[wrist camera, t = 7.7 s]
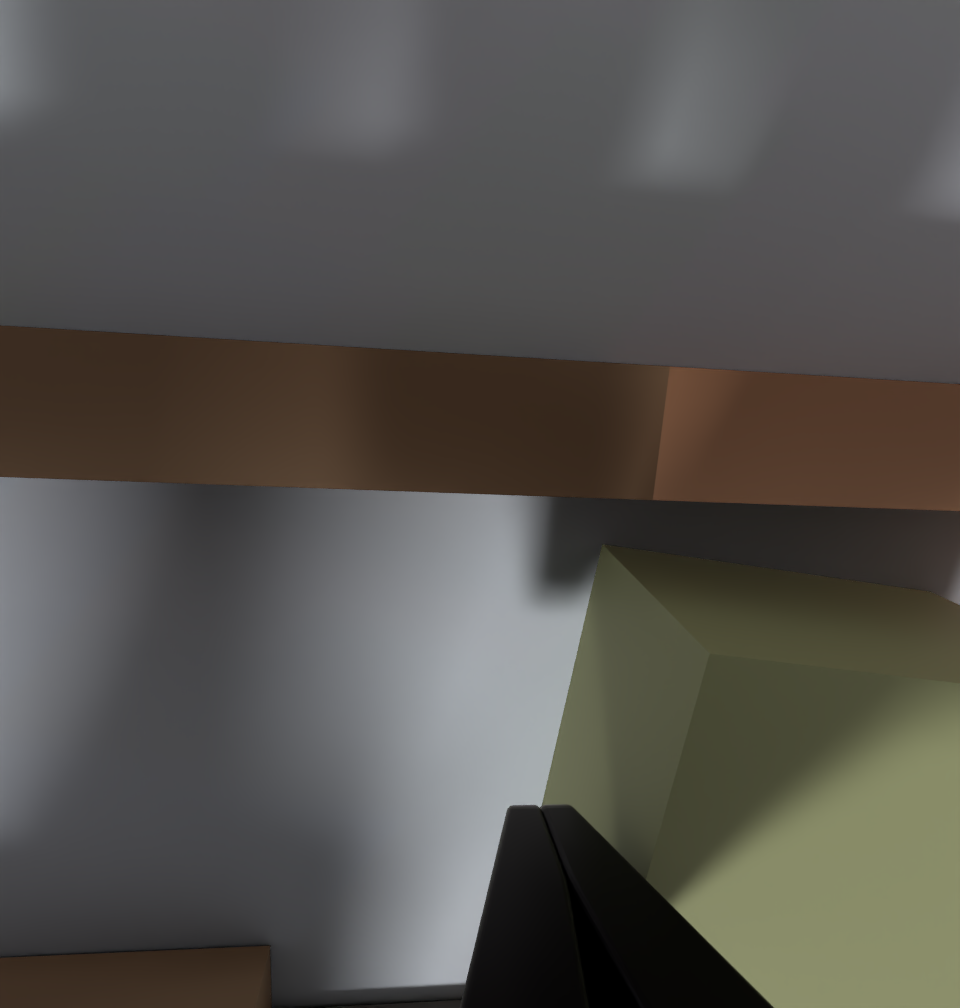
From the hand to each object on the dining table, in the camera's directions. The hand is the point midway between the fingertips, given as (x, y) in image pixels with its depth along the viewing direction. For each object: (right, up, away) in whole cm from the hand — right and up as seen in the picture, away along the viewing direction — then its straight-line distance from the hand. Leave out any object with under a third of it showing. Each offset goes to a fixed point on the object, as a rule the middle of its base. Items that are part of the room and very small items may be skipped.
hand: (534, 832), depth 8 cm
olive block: (+4, 0, +3) cm, 5 cm away
